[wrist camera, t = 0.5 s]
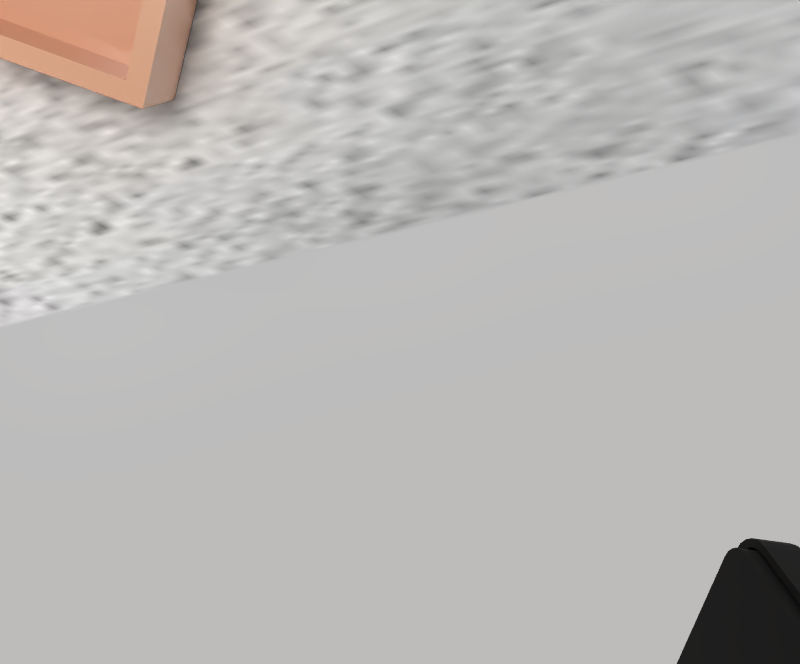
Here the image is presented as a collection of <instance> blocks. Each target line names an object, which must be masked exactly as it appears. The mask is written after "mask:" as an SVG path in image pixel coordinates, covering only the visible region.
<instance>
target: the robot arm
mask: <svg viewBox="0 0 800 664" xmlns="http://www.w3.org/2000/svg"><path fill="white" fill-rule="evenodd" d="M677 664H800V548H799V547H798V546H796V545H793V544H790V543H783V542H775V541H768V540H760V539H753V538H751V539H746V540H744V541H743V542H742V543H740V545H739V547H738V548H732V549H731V550H729V551H728V553H727V554H726V556H725V557H724V560H723V562H722V564H721V566H720V569H719V571H718V573H717V575H716V578H715V580H714V582H713V584H712V586H711V589H710V591H709V593H708V595H707V598H706V600H705V602H704V604H703V607H702V609H701V611H700V613H699V615H698V618H697V620H696V622H695V625H694V627H693V629H692V631H691V633H690V636H689V638H688V640H687V642H686V644H685V647H684V649H683V651H682V654H681V656H680V658H679V660H678V662H677Z"/></svg>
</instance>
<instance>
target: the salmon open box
mask: <svg viewBox="0 0 800 664" xmlns="http://www.w3.org/2000/svg"><path fill="white" fill-rule="evenodd" d="M196 4H197V0H0V58H2V59H5V60H8V61H10V62H13V63H16V64H19V65H22V66H24V67H27V68H30V69H33V70H35V71H38V72H41V73H44V74H47V75H49V76H52V77H55V78H58V79H61V80H63V81H66V82H69V83H72V84H75V85H77V86H80V87H83V88H86V89H88V90H91V91H94V92H97V93H100V94H102V95H105V96H108V97H111V98H114V99H116V100H119V101H122V102H125V103H128V104H130V105H133V106H136V107H139V108H142V109H144V108H148V107H151V106H154V105H158V104H161V103H164V102H168V101H171V100H174V99H175V95H176V90H177V86H178V82H179V78H180V73H181V69H182V65H183V60H184V56H185V52H186V47H187V43H188V39H189V34H190V30H191V26H192V22H193V17H194V13H195V9H196Z"/></svg>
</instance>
